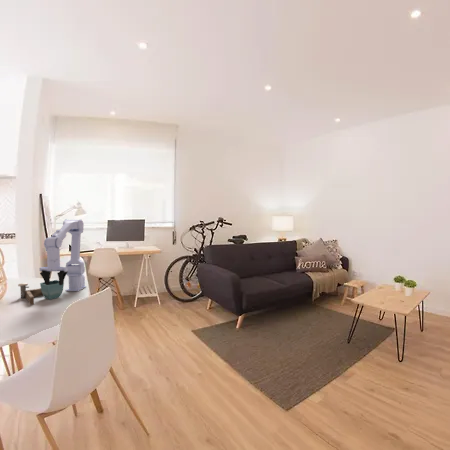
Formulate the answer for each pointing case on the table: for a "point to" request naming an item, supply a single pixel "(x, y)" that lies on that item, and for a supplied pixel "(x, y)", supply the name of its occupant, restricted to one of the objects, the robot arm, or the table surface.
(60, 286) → the flower pot
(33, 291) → the v jig
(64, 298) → the table surface
